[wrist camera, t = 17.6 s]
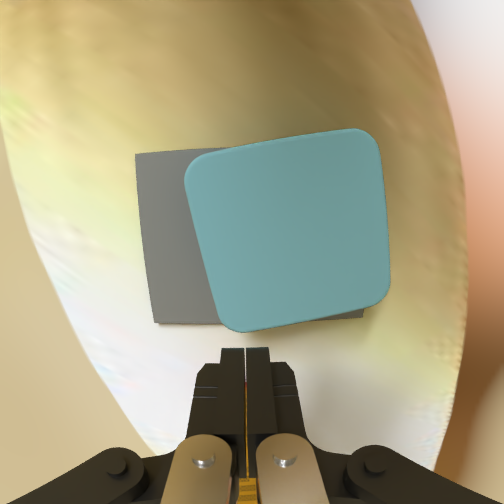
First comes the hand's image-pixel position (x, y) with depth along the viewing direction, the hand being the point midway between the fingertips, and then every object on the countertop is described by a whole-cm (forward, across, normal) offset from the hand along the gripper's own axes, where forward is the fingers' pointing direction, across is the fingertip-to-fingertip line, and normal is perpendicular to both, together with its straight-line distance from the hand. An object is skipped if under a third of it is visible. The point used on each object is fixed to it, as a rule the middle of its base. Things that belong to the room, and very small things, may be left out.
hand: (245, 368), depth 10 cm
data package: (+12, +3, 0) cm, 13 cm away
